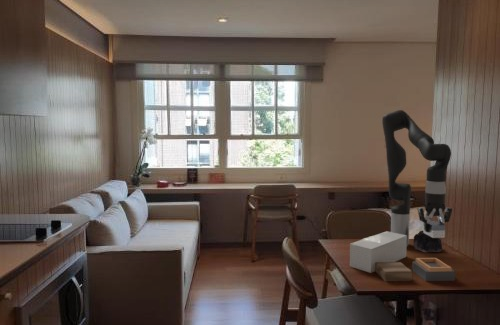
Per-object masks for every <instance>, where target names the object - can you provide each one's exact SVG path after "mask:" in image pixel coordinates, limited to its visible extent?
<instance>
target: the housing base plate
mask: <svg viewBox="0 0 500 325" xmlns="http://www.w3.org/2000/svg"><path fill="white" fill-rule="evenodd" d="M422 226H423V225H422ZM422 228H423V230H422V231H423V233H425V234H427V235H429V236H430V237H432V238H440V239H441V238H442V239H443V238H444V239H445V238H446V229H445V230H443V231H433V230H431V229H429V232H426V231H425V230H424V226H423V227H422Z"/></svg>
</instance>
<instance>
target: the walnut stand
mask: <svg viewBox="0 0 500 325" xmlns="http://www.w3.org/2000/svg"><path fill="white" fill-rule="evenodd" d="M374 272H375V273H376V274H378V276H379V277H380V278H381V279H382V280H383V281H384V282H412V281H413V271H412V269H410V268H409V267H407V266H406V265H405V264H404V263H402V262H401V261H396V262H375V271H374Z"/></svg>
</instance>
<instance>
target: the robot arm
mask: <svg viewBox="0 0 500 325" xmlns="http://www.w3.org/2000/svg"><path fill="white" fill-rule="evenodd" d="M381 121H382V129H383V134H384V140H385V150H386V164H387V172H388V174H387V175H388V195H389V199H390V200H392V201H403V202H402V203H401V204H397V205H393V206H392V207H391V208H390V209H391V210H390V211H391V212H390V214H391V215H390V232H393V233H398V234H402V235H407V237H406V238H407V239H406V240H407V241H406V242H407V243H406V244H407V247H409V246H410V220H411V218H410V216H411V212H410V211H411V196H412V195H411V194H412V186H411V184H409V183H402V182H396V180H397V179H398V177H399V175H400V174H401V173H402V172H403V171H404V169H405V168H406V166H407V152H406V150H405V148H404V147H403V146H402V145H401V144H400V143H399V142H398V141H397V140H396V138H395V132H397V131H400V130H403V129H407V130H408V134H407V136H408V140H409V142H410V143H411V144H412V145H413V146H415V147H416V148H417V149H418V150H419V152H420V153H421V156H422V157H423V158H424V159H425V160H426V161H430V162H435V163H434V165H432V166H431V165H430V166H429V167H427V169H426V182H425V189H424V191H425V193H424V194H425V196H424V198H425V199H424V203H425V204H424V206H422V207H419V206H418V207H417V214H418V219H419V222H422V223H423V224H424V230H425V231H426V232H429V227H430V224H429V223H430V221H432V219H433V218H434V217H436V218H437V219H438V223H440V224H443V225H445V224H446V223H449V222H450V220H451V216H452V212H453V208H452V207H449V206H446V205H445V204H446V194H447V193H446V192H447V190H446V189H447V187H446V175H447V174H446V172H447V170H448V167H449V163H450V161H451V156H452V150H451V147H450V146H449V145H448V144H446V143H435V140H434V139H433V138H434V137H432V136H430V135H429V134H428V133H426V132H425V131H424V130H422V129H421V127H420V126H419V125H418V124H417V123H416V122H415V121H414V119H412V117H411V116H410V115H409V114H408V113H407V112H406V111H405V110H402V109H397V110H394V111H391V112H388V113H386V114H385V113H384V115H383V116H382V120H381ZM425 212H426V213H425ZM443 212H444V213H443Z"/></svg>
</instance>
